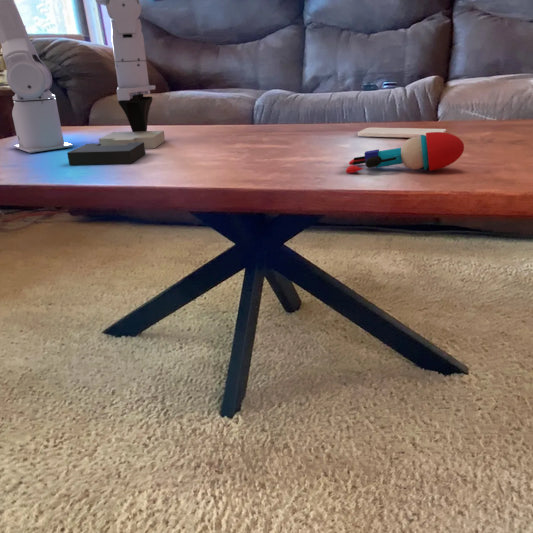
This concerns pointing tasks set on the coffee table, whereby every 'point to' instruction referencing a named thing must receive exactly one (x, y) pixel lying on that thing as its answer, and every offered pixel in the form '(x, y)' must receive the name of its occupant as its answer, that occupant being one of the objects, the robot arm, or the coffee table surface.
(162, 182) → the coffee table surface
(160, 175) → the coffee table surface
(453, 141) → the toy figure
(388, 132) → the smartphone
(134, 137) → the grey pad
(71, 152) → the black pad
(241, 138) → the coffee table surface
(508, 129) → the coffee table surface
